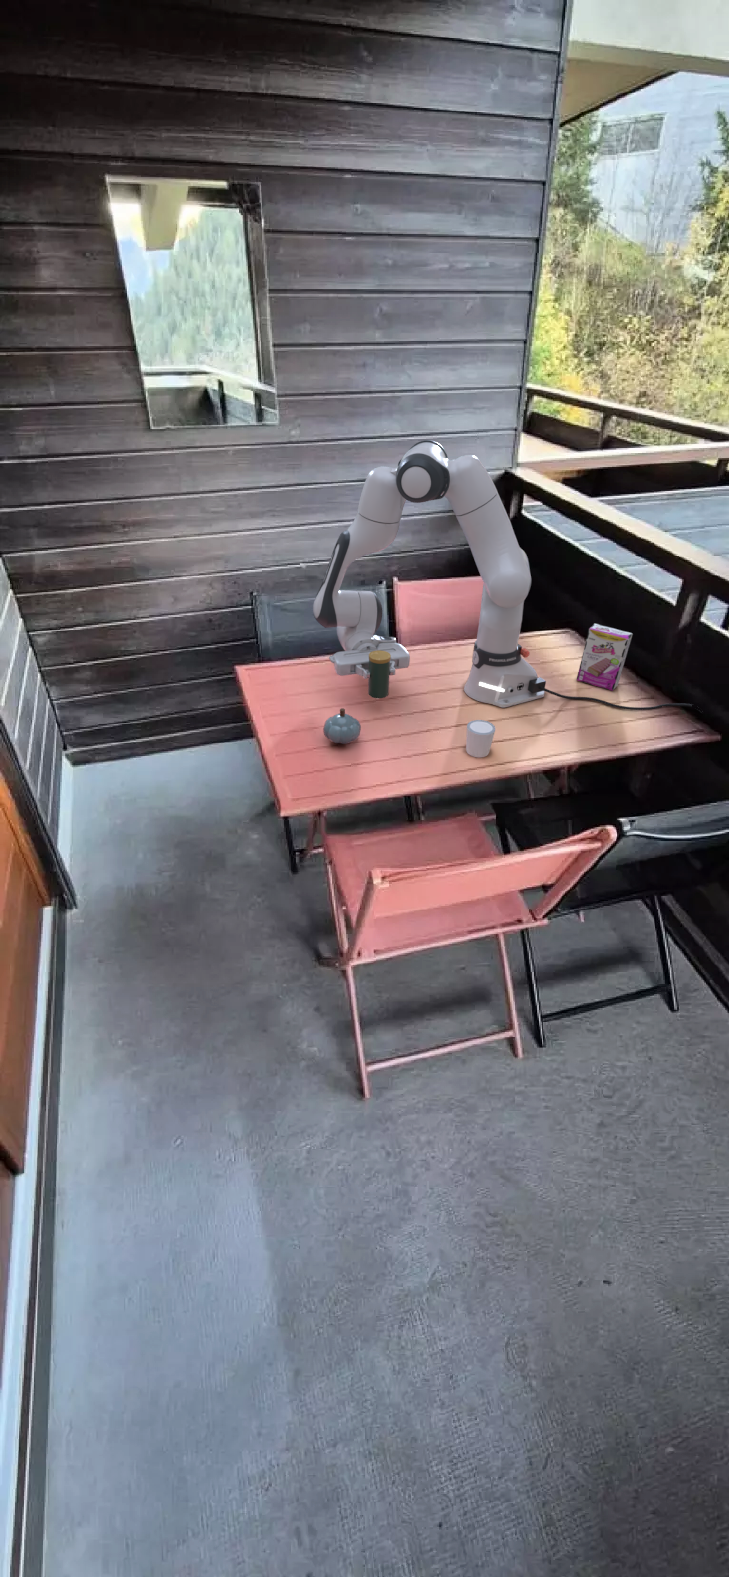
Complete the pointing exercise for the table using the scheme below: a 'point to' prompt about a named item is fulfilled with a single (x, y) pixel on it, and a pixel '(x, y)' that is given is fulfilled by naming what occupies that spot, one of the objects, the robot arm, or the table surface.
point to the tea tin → (379, 674)
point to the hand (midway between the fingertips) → (380, 674)
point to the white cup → (479, 738)
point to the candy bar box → (604, 656)
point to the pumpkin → (342, 728)
